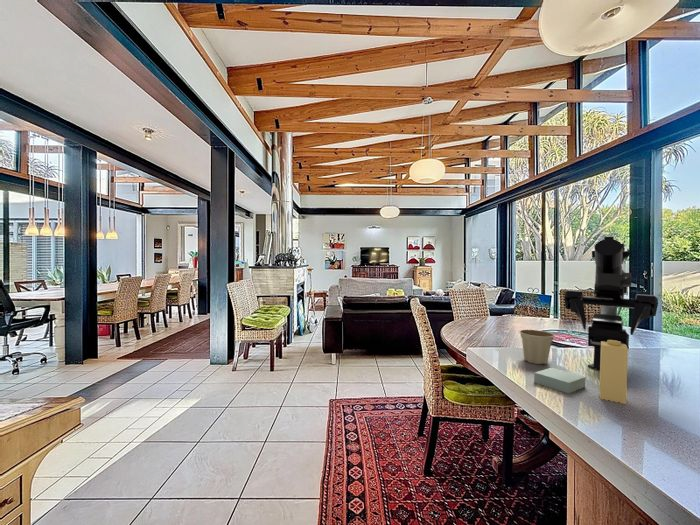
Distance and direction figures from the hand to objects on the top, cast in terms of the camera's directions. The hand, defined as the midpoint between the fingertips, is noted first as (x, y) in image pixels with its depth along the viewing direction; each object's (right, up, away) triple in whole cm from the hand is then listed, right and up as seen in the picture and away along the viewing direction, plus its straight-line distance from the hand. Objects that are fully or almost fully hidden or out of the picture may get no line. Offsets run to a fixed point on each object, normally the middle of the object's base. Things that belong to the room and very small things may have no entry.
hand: (607, 331), depth 84 cm
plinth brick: (-11, -13, +1) cm, 17 cm away
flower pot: (-7, -13, +20) cm, 25 cm away
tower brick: (-4, -14, -7) cm, 16 cm away
